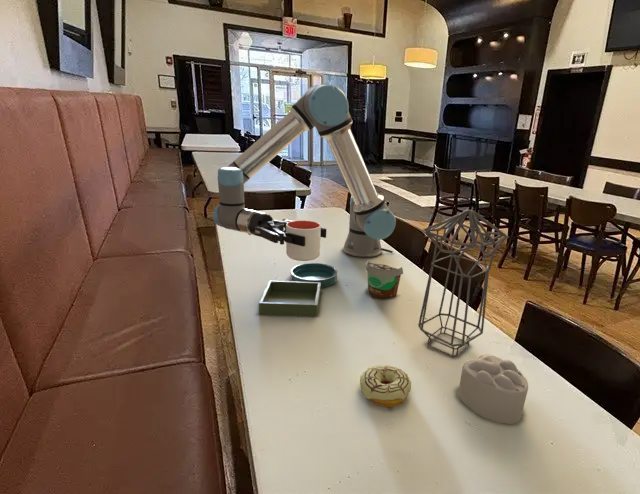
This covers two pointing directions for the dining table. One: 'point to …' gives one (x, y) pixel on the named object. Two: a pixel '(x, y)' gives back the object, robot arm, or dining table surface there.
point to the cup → (311, 240)
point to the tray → (290, 298)
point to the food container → (382, 280)
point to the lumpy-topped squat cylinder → (493, 388)
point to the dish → (314, 273)
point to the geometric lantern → (459, 220)
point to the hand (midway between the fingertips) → (315, 237)
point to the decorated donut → (385, 385)
